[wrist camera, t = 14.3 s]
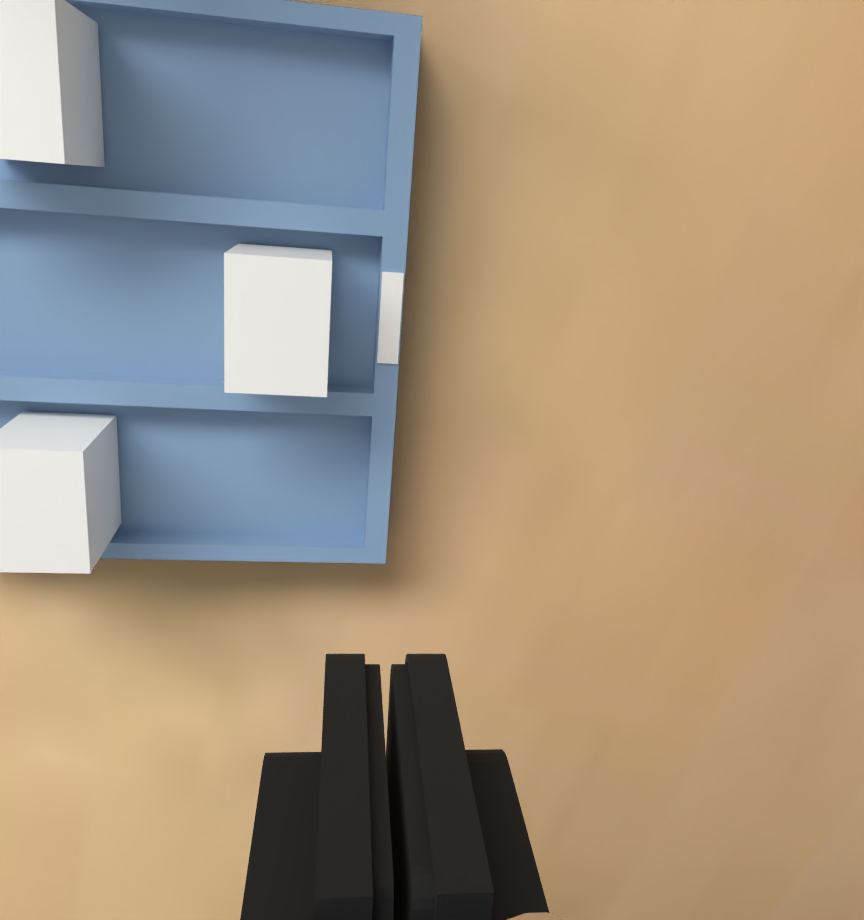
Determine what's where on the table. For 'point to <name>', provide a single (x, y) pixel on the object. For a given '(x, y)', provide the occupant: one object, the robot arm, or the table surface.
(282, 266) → the white rectangular block
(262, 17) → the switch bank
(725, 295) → the table surface
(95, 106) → the white block
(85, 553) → the white square block
